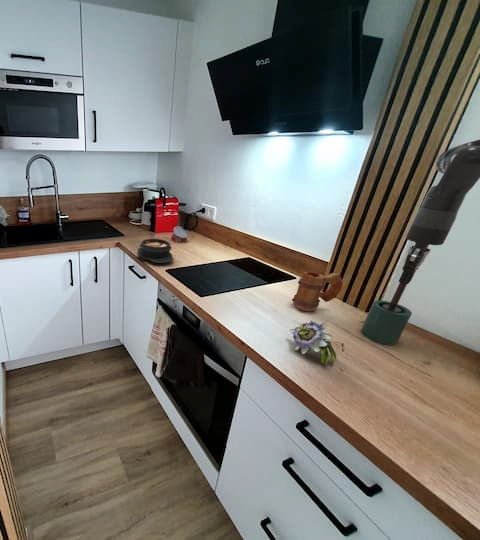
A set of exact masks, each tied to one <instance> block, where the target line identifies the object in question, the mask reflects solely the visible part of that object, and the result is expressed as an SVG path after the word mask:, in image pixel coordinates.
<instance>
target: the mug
mask: <svg viewBox="0 0 480 540" xmlns="http://www.w3.org/2000/svg"><path fill="white" fill-rule="evenodd" d="M326 283H328V284H330V285H331V286H330V287H329V289H328V290H327V291H325V292H322V289H324V287H325V285H326ZM297 284H298V286H297V289H296V293H295V294H294V295H293V298H292V299H291V301H292V305H293V306H294V307H295V308H297V309H298V310H301V311H302V312H303V311H304V312H312V311H315V310H316V309H317V308H318V307H319V306H320V304H319V303H321V300H323V301H324V303H329V302H331V301H332V300H334V299H335V298H336V297H338V295H339V294H340V292H342V291H341V290H342V289H343V285H344V282H343V279H342V277H341V276H340V274H338V273H336V272H331V273H329V274H327V275H324V274H323V273H321V274H320V273H319V272H316V271H310V270H309V271H304V272H303V273H302V276H301V277H300V278H299V280H298V281H297Z"/></svg>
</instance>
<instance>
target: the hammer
mask: <svg viewBox="0 0 480 540" xmlns="http://www.w3.org/2000/svg"><path fill="white" fill-rule="evenodd" d="M407 267H411V268H413V266H409V265H408V266H407ZM407 285H408V284H403V283H400V282H398V285H397V287H396V289H395V292H394V293H393V296H392V298H391V300H390V301H389V302H390V305H386V304H385V305H382V308H384V309H386V310H389V311H392V312H396V313H400V312H401V310H400V309H399V308H397V307H396V306H397V304H399V302H400V300H401V298H402V296H403V294H404V292H405V289H406V288H407Z"/></svg>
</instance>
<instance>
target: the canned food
mask: <svg viewBox="0 0 480 540" xmlns="http://www.w3.org/2000/svg"><path fill="white" fill-rule="evenodd" d="M172 231H173V234H171V238H170V240H171V241H172V242H174V243H178V244H179V243H181V244H183V243H186V242H187V241H188V233H187V231H186V230H185V229H184V228H183V227H182V226H180V225H176V226H175V227H174V228H173V230H172Z"/></svg>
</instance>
